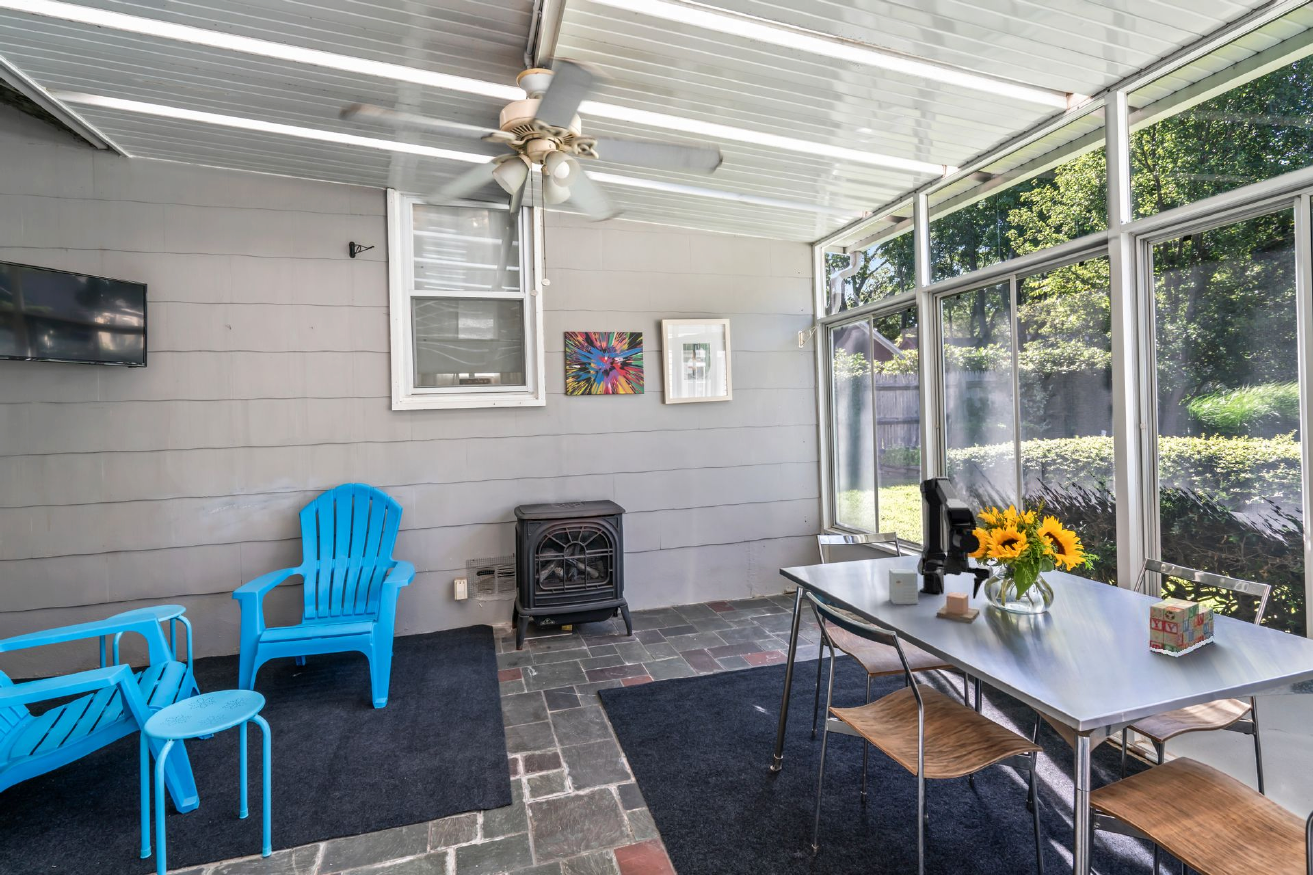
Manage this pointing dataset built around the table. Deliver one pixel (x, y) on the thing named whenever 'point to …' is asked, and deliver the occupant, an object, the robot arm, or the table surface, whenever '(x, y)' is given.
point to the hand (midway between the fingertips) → (958, 596)
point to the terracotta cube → (957, 603)
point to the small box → (903, 586)
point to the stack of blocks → (1179, 624)
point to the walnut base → (958, 615)
